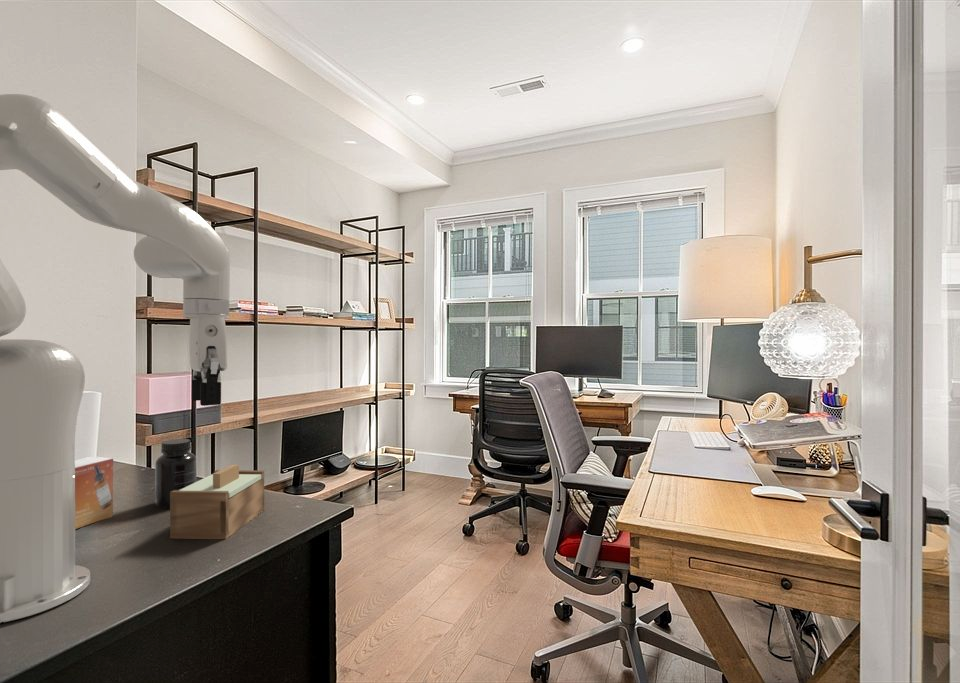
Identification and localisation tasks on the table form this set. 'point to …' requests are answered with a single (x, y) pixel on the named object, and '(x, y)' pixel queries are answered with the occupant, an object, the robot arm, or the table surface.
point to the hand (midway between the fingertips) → (205, 402)
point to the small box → (93, 490)
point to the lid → (225, 481)
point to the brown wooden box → (214, 511)
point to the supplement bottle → (173, 470)
